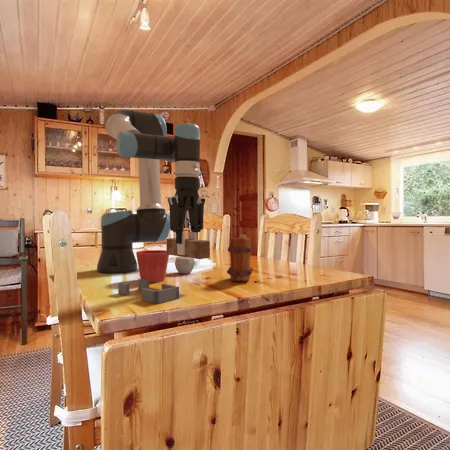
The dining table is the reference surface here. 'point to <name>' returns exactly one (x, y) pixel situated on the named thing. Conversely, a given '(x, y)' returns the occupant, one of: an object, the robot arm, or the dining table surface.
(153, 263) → the flower pot
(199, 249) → the brown rectangular block
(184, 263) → the apple
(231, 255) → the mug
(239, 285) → the dining table surface
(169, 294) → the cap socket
